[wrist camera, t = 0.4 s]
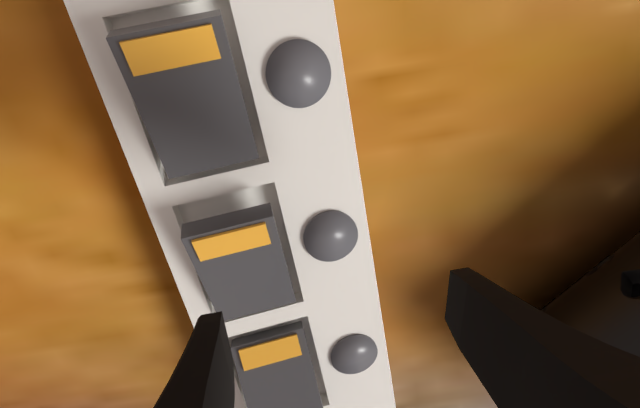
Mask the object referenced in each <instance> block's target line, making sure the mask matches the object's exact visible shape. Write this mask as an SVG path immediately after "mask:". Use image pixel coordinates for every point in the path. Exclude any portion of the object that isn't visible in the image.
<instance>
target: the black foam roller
mask: <svg viewBox="0 0 640 408" xmlns="http://www.w3.org/2000/svg"><path fill="white" fill-rule="evenodd" d="M635 235H636V236H634V237H633V238H632V239H631V240H629V241H628V242H627V243H626V244H624V245H623V246H622V247H621V248H619V249H618V250H617V251H616V252H614V253H613V254H612V255H611V256H608V257H607V258H605V259H604V260H603V261H602V262H600V263H599V264H598V265H597V266H595V267H594V268H593V269H592V270H590V271H589V272H588V273H587V274H585V275H584V276H583V277H582V278H580V279H579V280H578V281H577V282H575V283H574V284H573V285H572V286H570V287H569V288H568V289H567V290H565V291H564V292H563V293H562V294H560V295H559V296H558V297H557V298H555V299H554V300H553V301H552V302H550V303H549V304H548V305H547V306H545V307H544V308H543V309H542V310H540V311H542V312H544V313H546V314H548V315H549V316H551V317H553V318H555V319H557V320H559V321H561V322H563V323H564V324H566V325H568V326H570V327H572V328H574V329H576V330H578V331H580V332H583V333H585V334H587V335H589V336H591V337H593V338H596V339H598V340H600V341H602V342H604V343H607V344H609V345H611V346H614V347H616V348H619V349H621V350H623V351H626V352H629V353H631V354H634V355H636V356H639V357H640V231H639V232H638V233H637V234H635Z"/></svg>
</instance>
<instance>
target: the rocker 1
mask: <svg viewBox="0 0 640 408" xmlns="http://www.w3.org/2000/svg"><path fill="white" fill-rule="evenodd" d="M106 40H107V42H108V45H109V47H110V49H111V51H112V53H113V56H114V58H115V60H116V62H117V65H118V67H119V69H120V71H121V73H122V76H123V78H124V80H125V82H126V85H127V87H128V89H129V91H130V93H131V96H132V98H133V100H134V102H135V105H136V107H137V109H138V111H139V113H140V116H141V118H142V120H143V122H144V125H145V127H146V129H147V131H148V133H149V136H150V138H151V140H152V142H153V145H154V147H155V149H156V151H157V153H158V156H159V158H160V160H161V162H162V165H163V167H164V169H165V171H166V173H167V176H168V178H169V179H172V178H177V177H181V176H185V175H190V174H194V173H198V172H203V171H207V170H211V169H216V168H220V167H224V166H228V165H233V164H237V163H241V162H246V161H250V160H254V159H259V155H258V150H257V146H256V142H255V138H254V135H253V131H252V127H251V123H250V120H249V116H248V112H247V108H246V105H245V101H244V97H243V93H242V89H241V86H240V82H239V78H238V74H237V71H236V67H235V63H234V59H233V56H232V52H231V48H230V44H229V41H228V37H227V33H226V29H225V25H224V22H223V18H222V14H221V10H220V9H218V10H213V11H208V12H203V13H197V14H192V15H187V16H182V17H177V18H172V19H167V20H162V21H156V22H151V23H146V24H141V25H136V26H131V27H126V28H121V29H116V30H111V31H110V32H109V34H108V35H107V37H106Z"/></svg>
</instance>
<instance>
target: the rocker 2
mask: <svg viewBox="0 0 640 408" xmlns="http://www.w3.org/2000/svg"><path fill="white" fill-rule="evenodd" d="M230 348H231V352H232V356H233V359H234V363H235V366H236V370H237V374H238V377H239V381H240V384H241V388H242V391H243V395H244V398H245V402H246V405H247V408H323V404H322V400H321V396H320V392H319V388H318V384H317V380H316V376H315V372H314V368H313V364H312V360H311V356H310V352H309V348H308V344H307V340H306V336H305V332H304V328H303V324H302V321H298V322H295V323H291V324H287V325H284V326H280V327H276V328H273V329H269V330H265V331H262V332H258V333H254V334H251V335H247V336H243V337H240V338H236V339H232V342H231V347H230Z"/></svg>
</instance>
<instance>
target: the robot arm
mask: <svg viewBox="0 0 640 408" xmlns="http://www.w3.org/2000/svg"><path fill="white" fill-rule="evenodd" d="M445 320H446V322H447V324H448V326H449V329H450V331H451V333H452V335H453V337H454V339H455V341H456V343H457V345H458V347H459V349H460V350H461V352H462V353H463V355H464V356H465V358H466V360H467V361H468V363H469V364H470V366H471V367H472V369H473V370H474V372H475V373H476V375H477V376H478V378H479V379H480V381H481V382H482V384H483V386H484V387H485V389H486V390H487V392H488V393H489V395H490V396H491V398H492V399H493V401H494V402H495V404H496V405H497V407H498V408H640V357H639V356H636V355H634V354H631V353H629V352H626V351H623V350H621V349H619V348H616V347H614V346H611V345H609V344H607V343H604V342H602V341H600V340H598V339H596V338H593V337H591V336H589V335H587V334H585V333H583V332H580V331H578V330H576V329H574V328H572V327H570V326H568V325H566V324H564V323H563V322H561V321H559V320H557V319H555V318H553V317H551V316H549V315H548V314H546V313H544V312H542V311H540V310H539V309H537V308H535V307H533V306H532V305H530V304H528V303H526V302H525V301H523V300H521V299H520V298H518V297H516V296H515V295H513V294H511V293H510V292H508V291H506V290H505V289H503V288H502V287H500V286H498V285H497V284H495V283H493V282H492V281H490V280H489V279H487V278H485V277H484V276H482V275H480V274H479V273H477V272H475V271H474V270H472V269H470V268H462V269H456V270H451V271H450V277H449V286H448V295H447V304H446V312H445ZM234 402H235V383H234V364H233V356H232V352H231V348H230V344H229V339H228V335H227V331H226V326H225V322H224V318H223V313H222V311H220V312H215V313H209V314H204V315H201V316H200V317H199V318H198V319H197V322H196V325H195V327H194V330H193V332H192V334H191V337H190V339H189V341H188V344H187V346H186V348H185V350H184V352H183V354H182V356H181V358H180V360H179V362H178V364H177V366H176V368H175V370H174V372H173V374H172V376H171V378H170V380H169V381H168V383H167V385H166V387H165V388H164V390H163V392H162V394H161V395H160V397H159V399H158V401H157V402H156V404H155V406H154V407H153V408H234Z"/></svg>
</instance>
